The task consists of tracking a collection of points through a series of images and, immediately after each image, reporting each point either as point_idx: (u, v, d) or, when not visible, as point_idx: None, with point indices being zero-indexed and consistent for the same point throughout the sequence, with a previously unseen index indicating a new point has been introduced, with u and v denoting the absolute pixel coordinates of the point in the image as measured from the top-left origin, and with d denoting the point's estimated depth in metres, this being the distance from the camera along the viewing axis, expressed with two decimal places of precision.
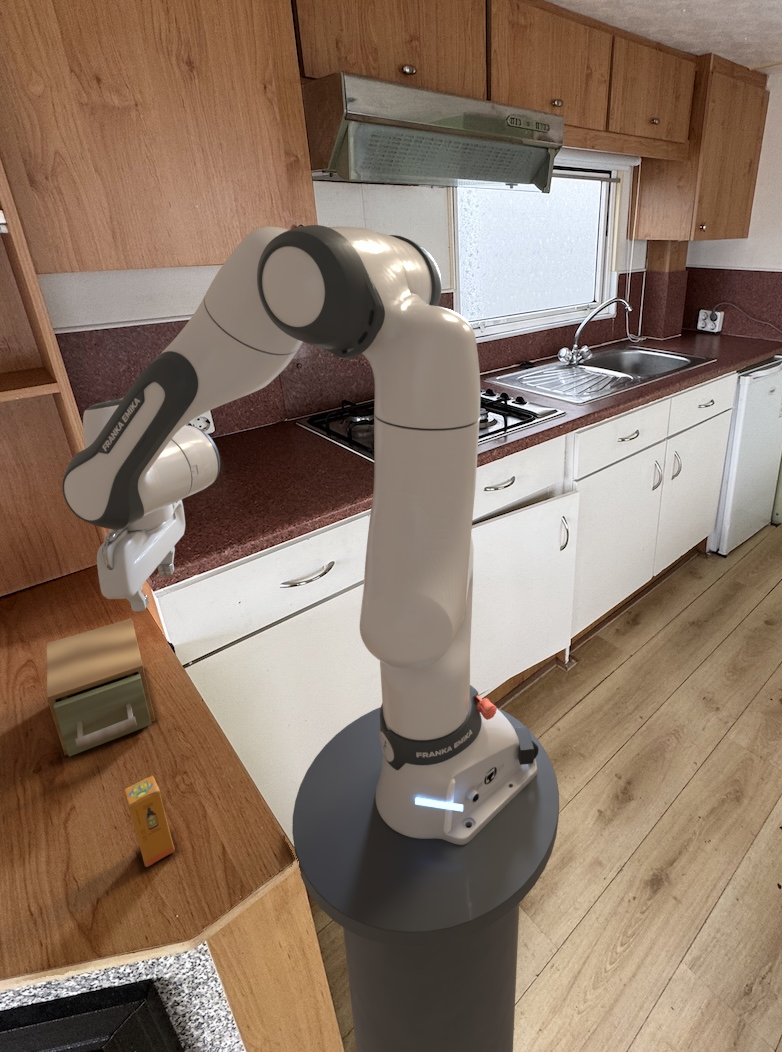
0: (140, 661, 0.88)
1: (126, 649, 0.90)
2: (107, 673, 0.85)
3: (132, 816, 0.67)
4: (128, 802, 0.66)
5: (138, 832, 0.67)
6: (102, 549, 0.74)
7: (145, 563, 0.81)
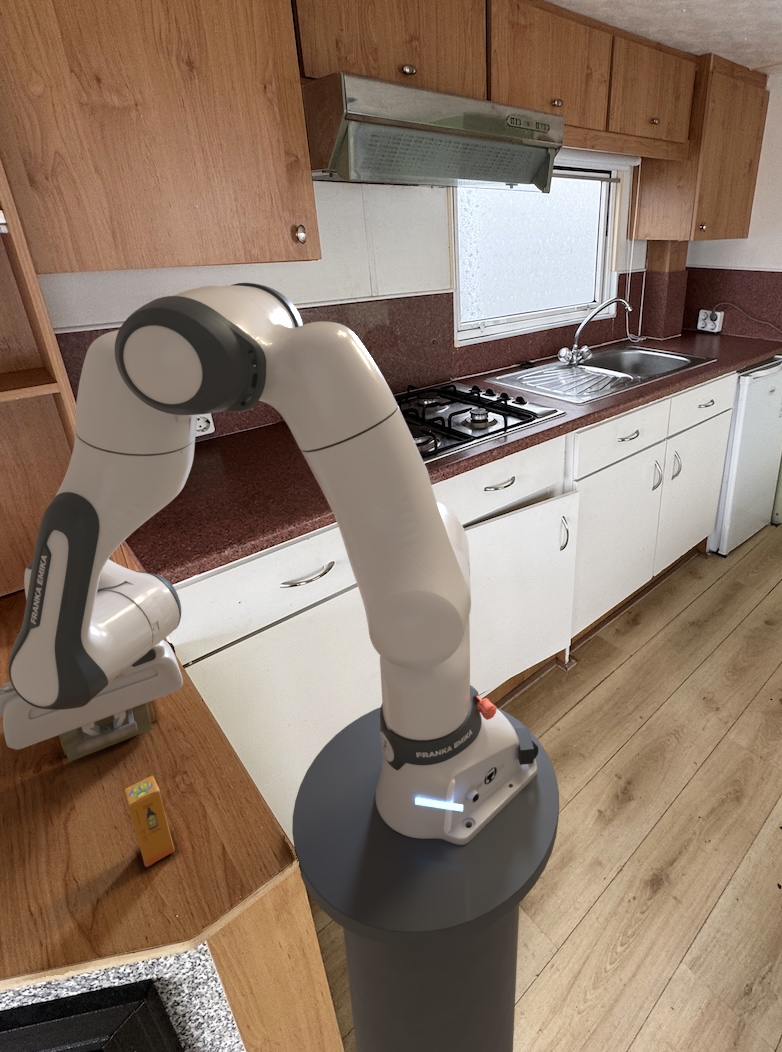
0: None
1: None
2: None
3: (132, 816, 0.67)
4: (128, 802, 0.66)
5: (138, 832, 0.67)
6: None
7: (56, 720, 0.75)
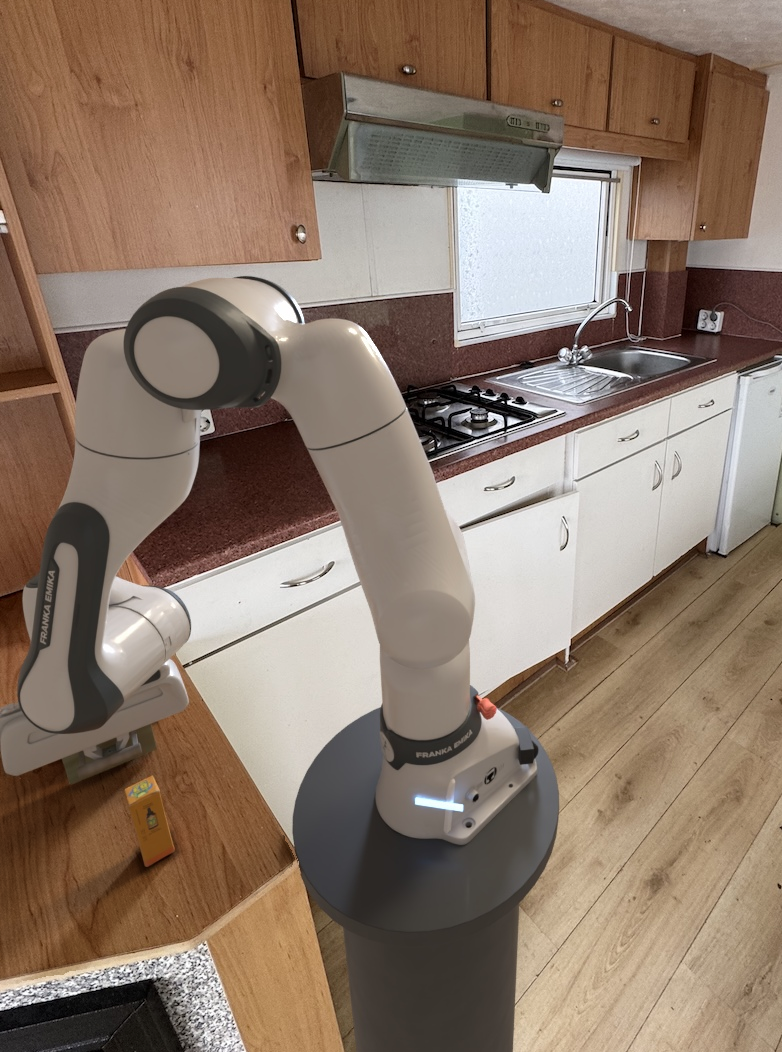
0: None
1: None
2: None
3: (132, 816, 0.67)
4: (128, 802, 0.66)
5: (138, 832, 0.67)
6: None
7: (56, 744, 0.72)
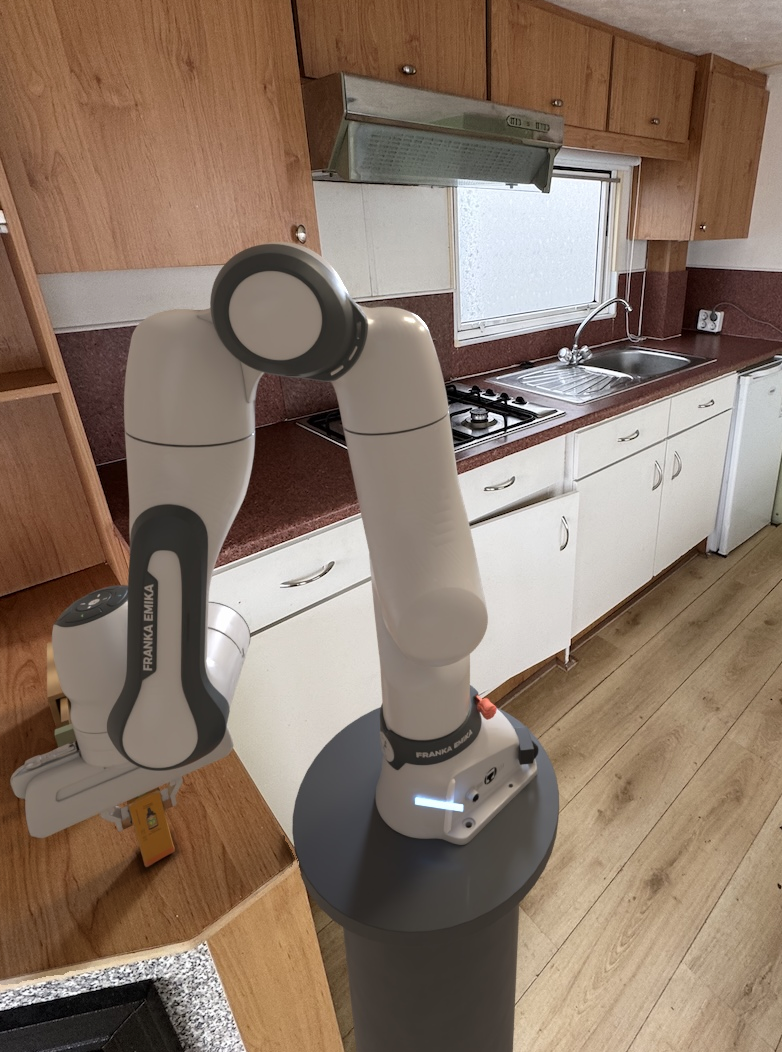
0: None
1: None
2: None
3: (132, 816, 0.67)
4: (128, 802, 0.66)
5: (138, 832, 0.67)
6: (12, 775, 0.59)
7: (88, 800, 0.63)
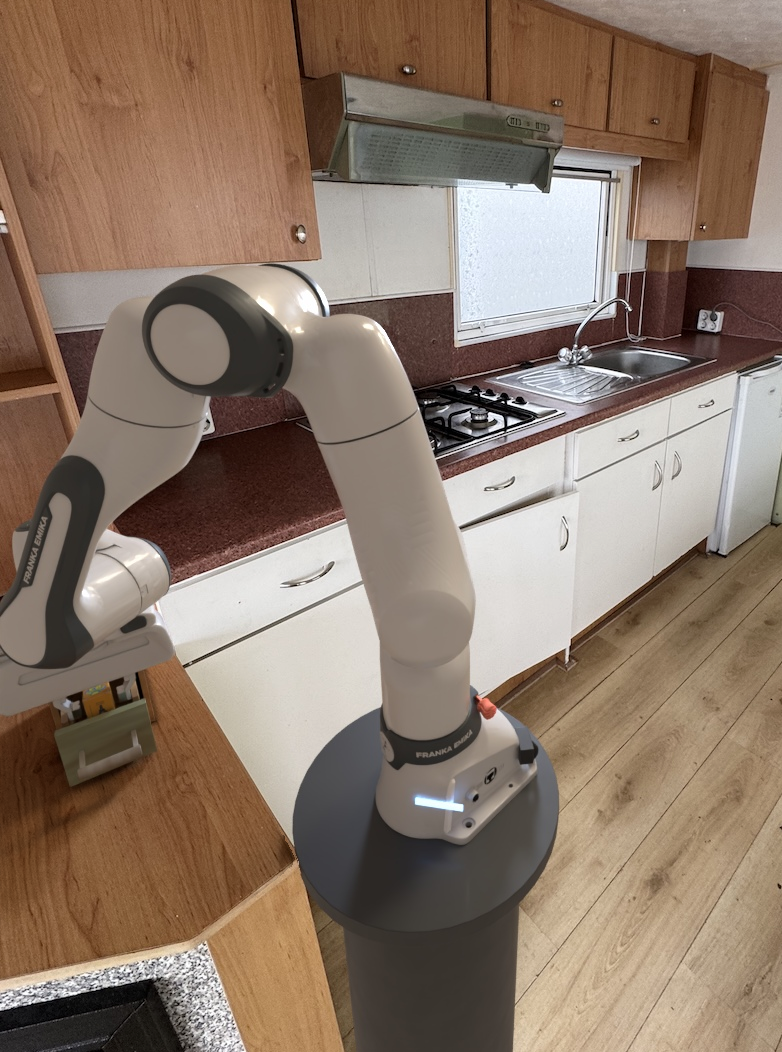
0: None
1: None
2: None
3: (86, 710, 0.79)
4: (83, 698, 0.79)
5: None
6: None
7: (46, 687, 0.75)
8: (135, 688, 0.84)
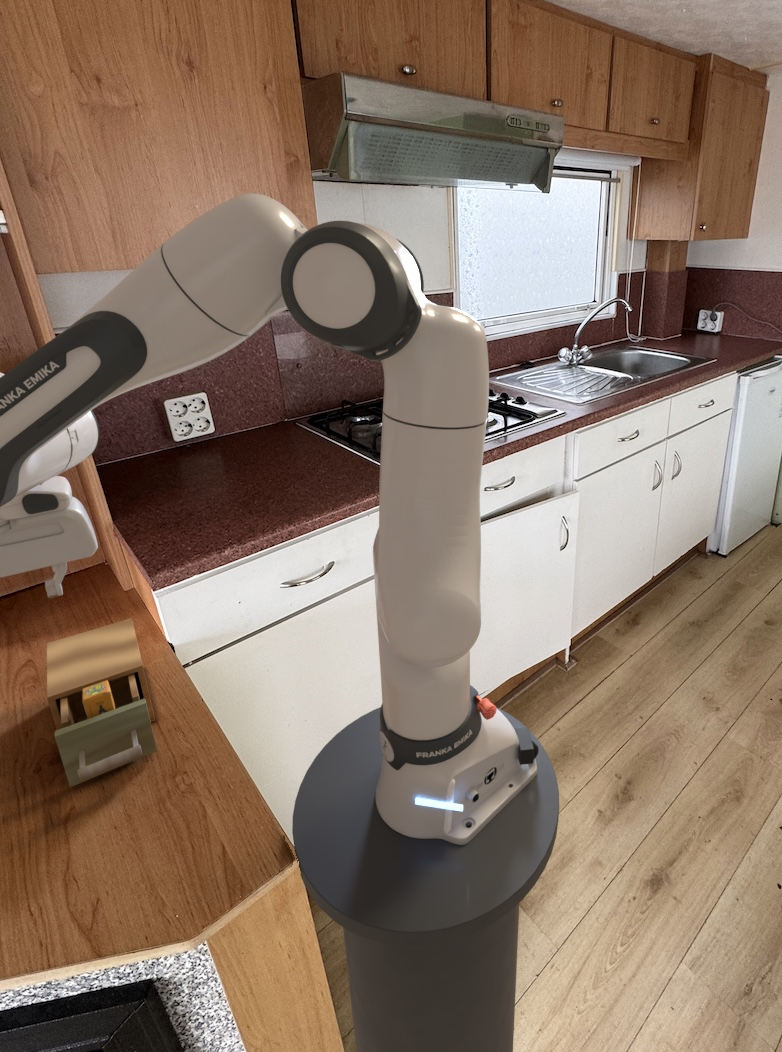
0: (140, 661, 0.88)
1: (126, 649, 0.90)
2: (107, 673, 0.85)
3: (86, 710, 0.79)
4: (83, 698, 0.79)
5: None
6: None
7: None
8: (135, 688, 0.84)
